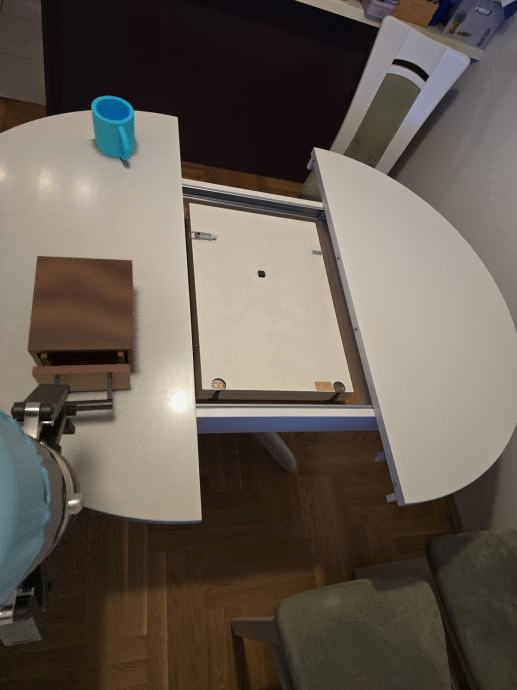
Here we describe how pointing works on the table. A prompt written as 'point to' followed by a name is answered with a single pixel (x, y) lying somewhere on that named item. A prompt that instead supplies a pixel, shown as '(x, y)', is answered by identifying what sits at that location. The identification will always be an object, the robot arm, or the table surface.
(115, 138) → the mug
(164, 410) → the table surface
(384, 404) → the table surface
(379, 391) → the table surface
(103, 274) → the cabinet
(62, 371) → the drawer
